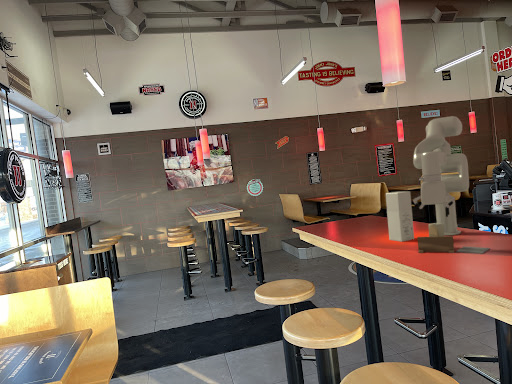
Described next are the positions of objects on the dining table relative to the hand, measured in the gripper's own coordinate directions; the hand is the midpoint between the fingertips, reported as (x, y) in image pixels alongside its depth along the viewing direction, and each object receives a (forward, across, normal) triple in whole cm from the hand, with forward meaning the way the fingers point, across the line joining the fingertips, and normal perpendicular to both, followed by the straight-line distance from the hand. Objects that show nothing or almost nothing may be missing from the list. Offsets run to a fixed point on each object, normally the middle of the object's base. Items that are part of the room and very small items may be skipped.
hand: (434, 217), depth 170 cm
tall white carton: (+14, -16, +24) cm, 32 cm away
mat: (+14, +14, -4) cm, 20 cm away
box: (+14, 0, +1) cm, 15 cm away
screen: (+14, -1, -6) cm, 16 cm away
